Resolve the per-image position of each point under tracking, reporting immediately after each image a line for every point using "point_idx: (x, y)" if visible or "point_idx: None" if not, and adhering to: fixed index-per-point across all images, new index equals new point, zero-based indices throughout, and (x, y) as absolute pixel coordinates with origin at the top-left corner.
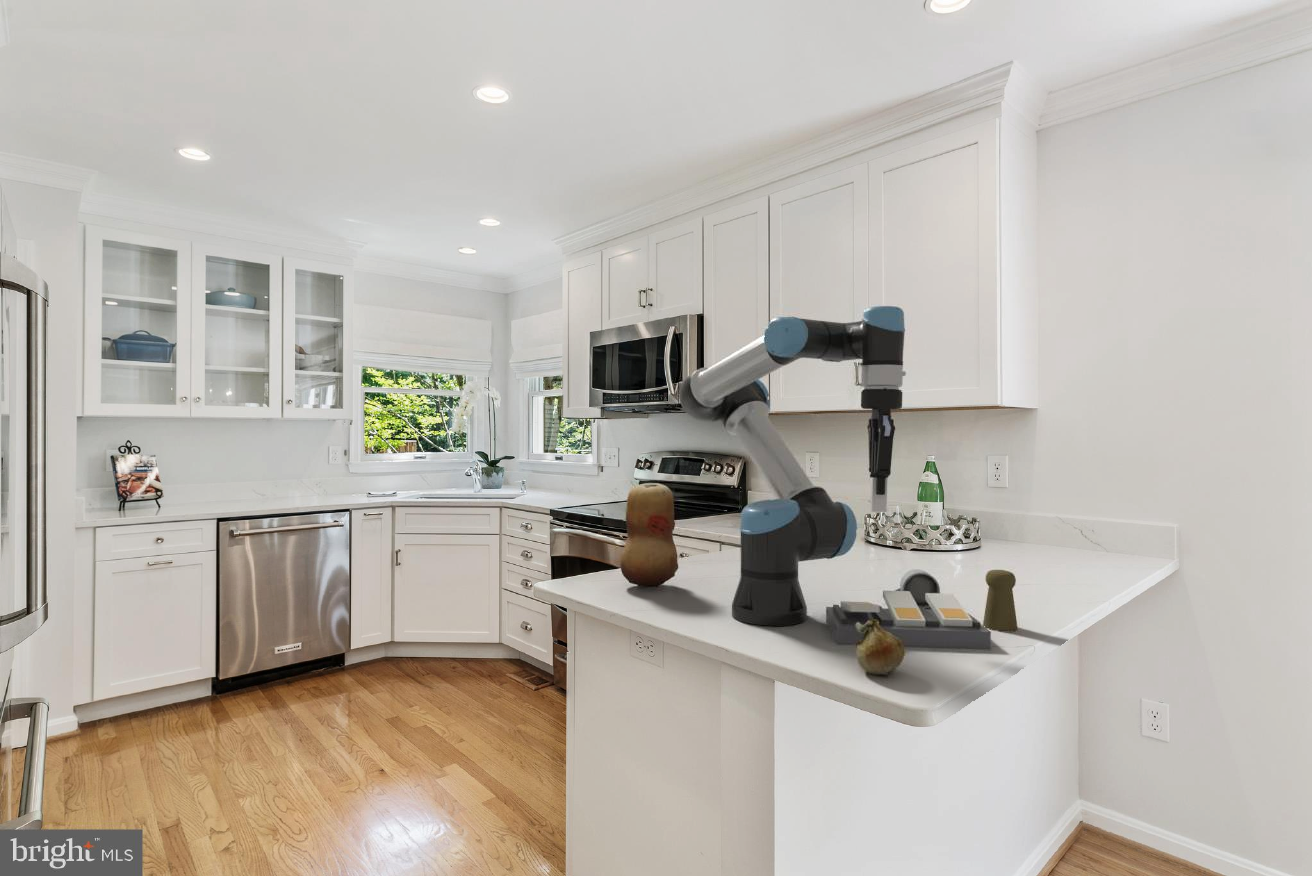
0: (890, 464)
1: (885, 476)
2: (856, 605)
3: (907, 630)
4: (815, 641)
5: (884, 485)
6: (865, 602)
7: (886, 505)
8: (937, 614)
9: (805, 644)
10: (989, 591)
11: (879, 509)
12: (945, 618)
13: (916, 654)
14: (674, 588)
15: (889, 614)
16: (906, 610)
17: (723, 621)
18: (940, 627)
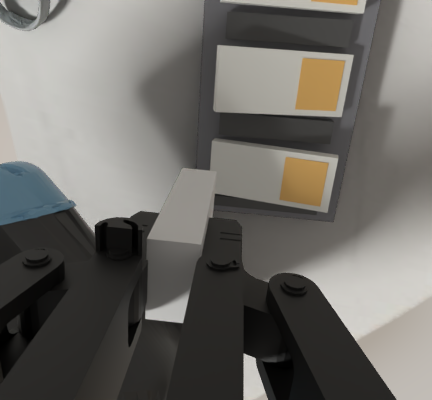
0: (353, 342)
1: (261, 283)
2: (328, 201)
3: (358, 98)
4: (310, 239)
5: (241, 249)
6: (231, 150)
7: (214, 181)
8: (319, 10)
9: (324, 256)
10: None
11: (213, 203)
12: (360, 5)
13: (397, 93)
14: None
15: None
16: (310, 85)
17: None
18: (354, 19)
